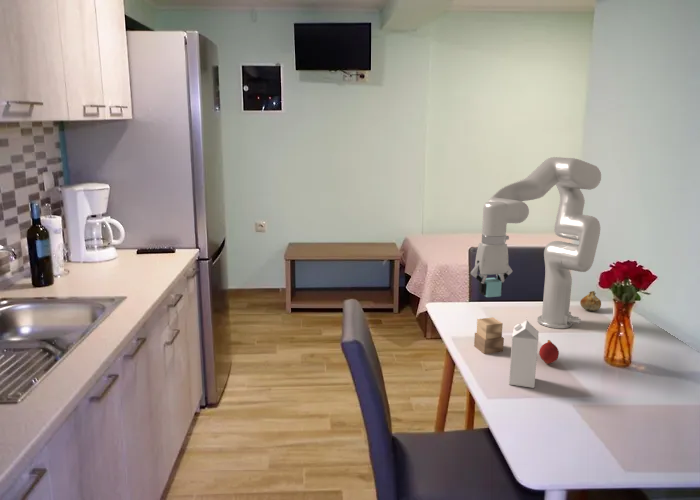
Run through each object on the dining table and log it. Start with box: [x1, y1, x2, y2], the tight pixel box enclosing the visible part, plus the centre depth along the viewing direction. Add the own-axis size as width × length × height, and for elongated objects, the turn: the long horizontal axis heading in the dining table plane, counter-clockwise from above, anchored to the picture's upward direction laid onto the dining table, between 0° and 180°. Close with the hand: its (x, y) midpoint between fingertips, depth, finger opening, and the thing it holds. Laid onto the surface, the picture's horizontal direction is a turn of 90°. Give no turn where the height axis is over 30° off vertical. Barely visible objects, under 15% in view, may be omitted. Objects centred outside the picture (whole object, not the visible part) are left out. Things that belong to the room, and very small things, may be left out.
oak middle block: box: [476, 317, 503, 339], centre depth 189 cm, size 6×6×5 cm
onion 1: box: [538, 339, 560, 365], centre depth 177 cm, size 6×6×8 cm
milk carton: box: [508, 317, 539, 389], centre depth 164 cm, size 7×7×19 cm
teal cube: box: [483, 277, 503, 298], centre depth 186 cm, size 5×5×5 cm
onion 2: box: [579, 290, 602, 312], centre depth 227 cm, size 8×8×8 cm
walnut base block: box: [473, 332, 505, 355], centre depth 189 cm, size 7×7×5 cm
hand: (490, 293), depth 186 cm, fingers closed on teal cube, 4 cm apart
